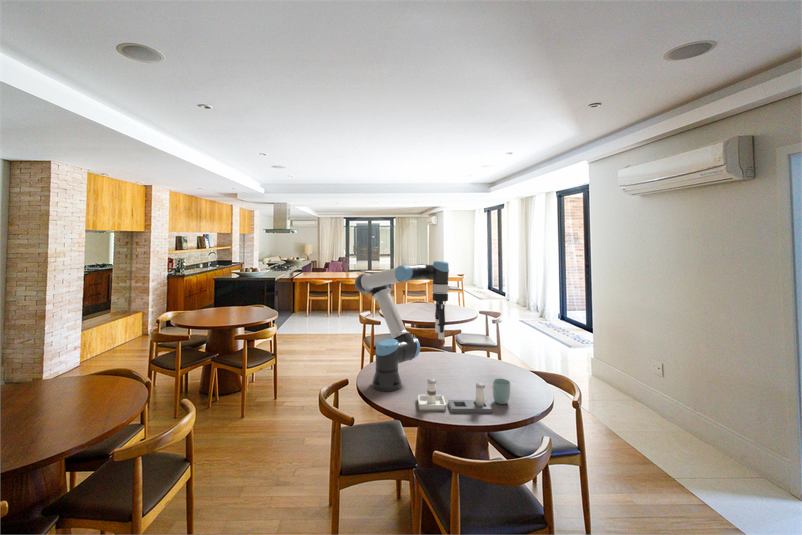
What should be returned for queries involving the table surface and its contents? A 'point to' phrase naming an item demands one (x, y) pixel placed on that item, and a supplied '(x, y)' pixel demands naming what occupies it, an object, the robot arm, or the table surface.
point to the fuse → (480, 394)
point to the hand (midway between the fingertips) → (439, 335)
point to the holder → (469, 406)
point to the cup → (501, 391)
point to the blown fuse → (431, 391)
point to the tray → (424, 406)
